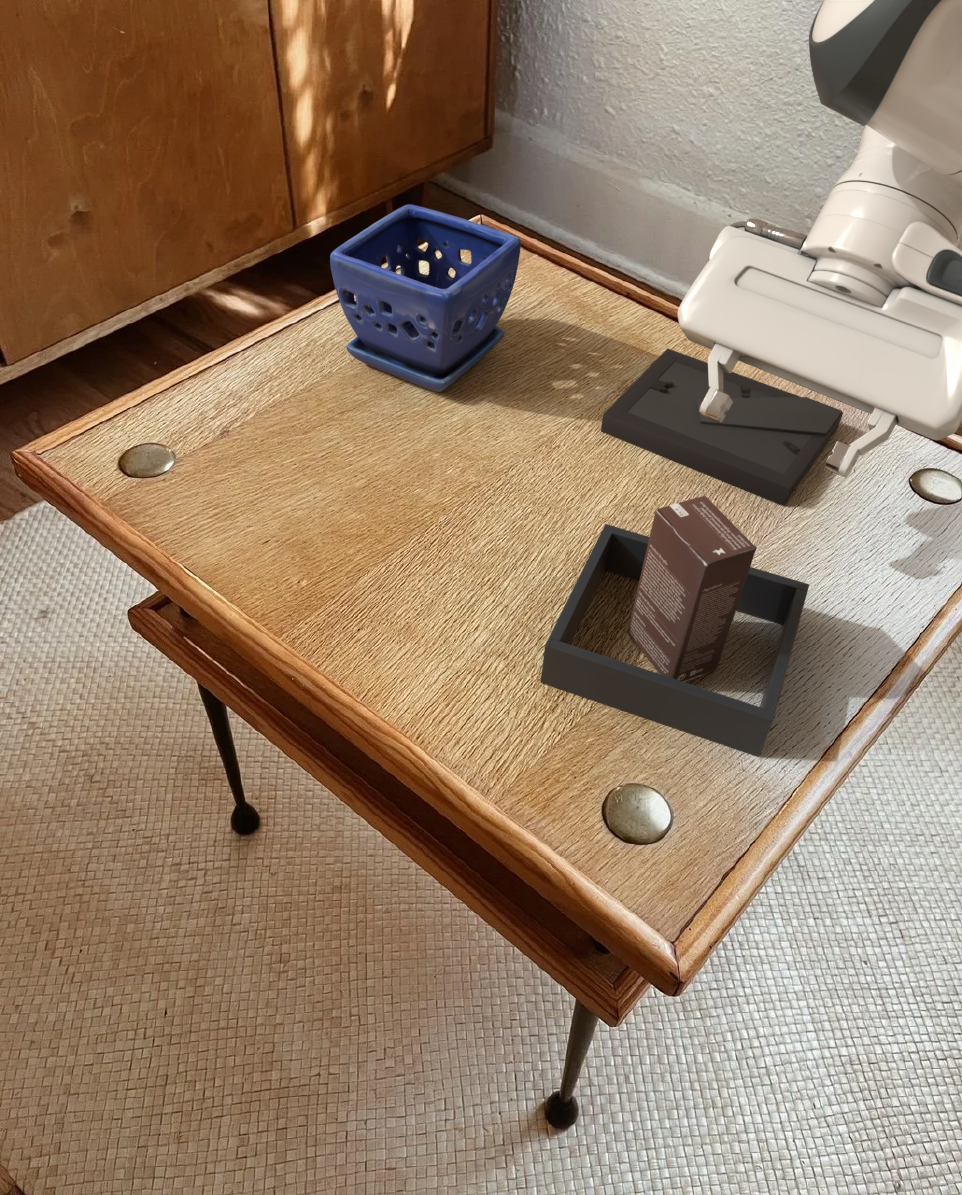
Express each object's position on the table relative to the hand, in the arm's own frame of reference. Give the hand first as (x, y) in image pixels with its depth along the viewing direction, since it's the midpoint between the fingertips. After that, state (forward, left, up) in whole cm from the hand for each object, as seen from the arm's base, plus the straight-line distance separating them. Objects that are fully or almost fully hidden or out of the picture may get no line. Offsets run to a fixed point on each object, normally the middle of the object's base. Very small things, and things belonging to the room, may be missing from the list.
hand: (770, 444), depth 70 cm
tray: (+2, +8, -14) cm, 16 cm away
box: (+2, +8, -14) cm, 16 cm away
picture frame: (+5, -20, -14) cm, 24 cm away
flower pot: (+34, -19, -14) cm, 41 cm away
